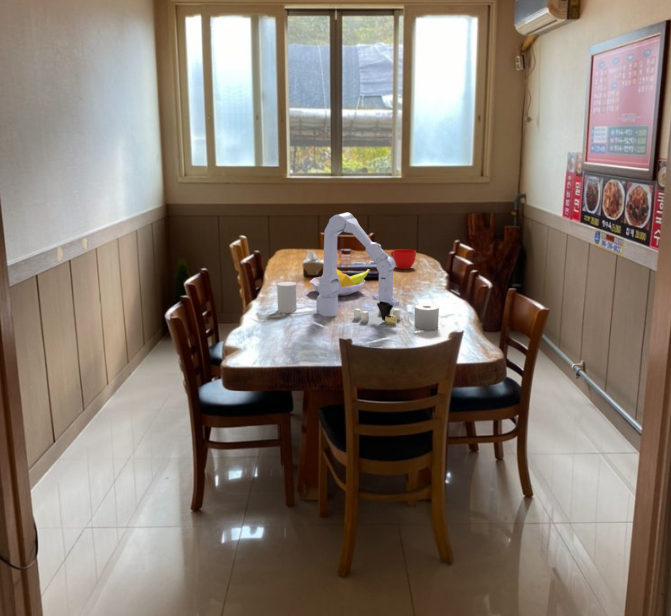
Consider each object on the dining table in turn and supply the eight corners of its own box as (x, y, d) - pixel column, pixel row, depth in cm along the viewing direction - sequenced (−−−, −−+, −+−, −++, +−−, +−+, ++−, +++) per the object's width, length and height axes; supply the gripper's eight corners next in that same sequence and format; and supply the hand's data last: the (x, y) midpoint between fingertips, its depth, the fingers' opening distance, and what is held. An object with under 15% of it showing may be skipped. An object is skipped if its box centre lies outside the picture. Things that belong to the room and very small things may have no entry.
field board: (350, 320, 266) (350, 318, 266) (382, 314, 276) (382, 312, 276) (370, 327, 256) (370, 325, 256) (402, 320, 266) (402, 319, 265)
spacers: (352, 318, 266) (352, 309, 265) (382, 312, 275) (382, 303, 274) (371, 325, 256) (371, 315, 255) (401, 319, 265) (402, 309, 264)
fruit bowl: (304, 297, 304) (303, 274, 301) (319, 285, 330) (319, 263, 327) (362, 301, 298) (362, 277, 295) (373, 288, 323) (373, 266, 320)
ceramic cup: (399, 264, 384) (399, 247, 381) (420, 268, 371) (420, 251, 369) (383, 266, 376) (383, 249, 373) (404, 271, 363) (404, 253, 361)
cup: (299, 308, 284) (298, 282, 281) (292, 313, 277) (292, 286, 274) (281, 307, 286) (281, 281, 283) (275, 312, 279) (274, 285, 276)
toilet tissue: (434, 321, 265) (435, 301, 262) (439, 331, 252) (440, 310, 249) (412, 321, 265) (413, 301, 262) (415, 331, 252) (416, 309, 250)
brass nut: (382, 322, 259) (383, 315, 258) (390, 320, 262) (391, 313, 261) (390, 326, 256) (390, 319, 255) (398, 324, 259) (399, 317, 258)
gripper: (405, 289, 254) (404, 322, 258) (382, 282, 266) (381, 314, 269) (391, 291, 250) (390, 325, 254) (368, 285, 262) (368, 317, 265)
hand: (385, 320), depth 261 cm, fingers closed
